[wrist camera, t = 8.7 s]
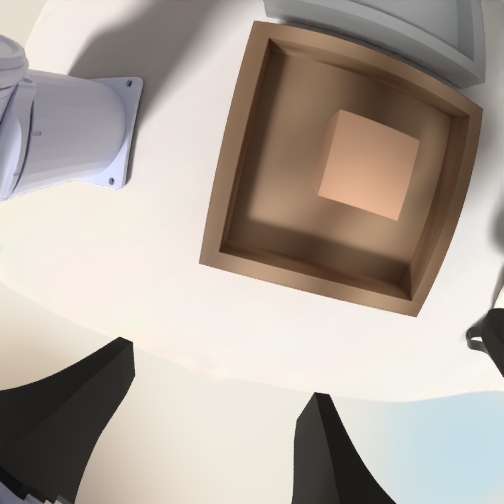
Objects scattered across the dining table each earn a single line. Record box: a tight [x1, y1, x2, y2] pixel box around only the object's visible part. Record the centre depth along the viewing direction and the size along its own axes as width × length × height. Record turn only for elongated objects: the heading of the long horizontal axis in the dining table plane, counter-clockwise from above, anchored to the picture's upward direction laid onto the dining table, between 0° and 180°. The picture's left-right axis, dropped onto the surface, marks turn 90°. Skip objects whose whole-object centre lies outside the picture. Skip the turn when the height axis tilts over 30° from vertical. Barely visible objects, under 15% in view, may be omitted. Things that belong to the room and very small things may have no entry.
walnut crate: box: [199, 21, 483, 317], centre depth 14 cm, size 14×14×3 cm
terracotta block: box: [311, 109, 420, 221], centre depth 13 cm, size 4×4×4 cm
